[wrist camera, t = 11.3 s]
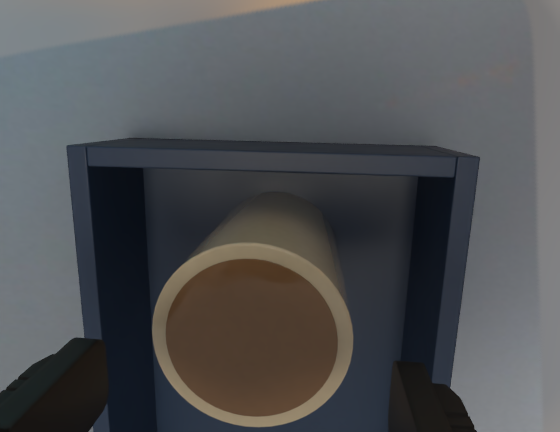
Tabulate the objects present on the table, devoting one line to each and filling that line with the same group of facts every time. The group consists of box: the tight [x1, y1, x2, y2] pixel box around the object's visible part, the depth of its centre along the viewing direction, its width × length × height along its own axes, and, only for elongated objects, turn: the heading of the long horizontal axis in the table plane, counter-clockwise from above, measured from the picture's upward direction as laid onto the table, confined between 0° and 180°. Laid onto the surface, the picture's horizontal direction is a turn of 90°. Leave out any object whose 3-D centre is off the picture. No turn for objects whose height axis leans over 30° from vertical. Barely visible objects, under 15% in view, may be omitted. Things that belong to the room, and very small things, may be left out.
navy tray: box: [67, 138, 480, 432], centre depth 22 cm, size 26×16×6 cm, turn 179°
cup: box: [152, 192, 354, 427], centre depth 18 cm, size 7×7×9 cm
